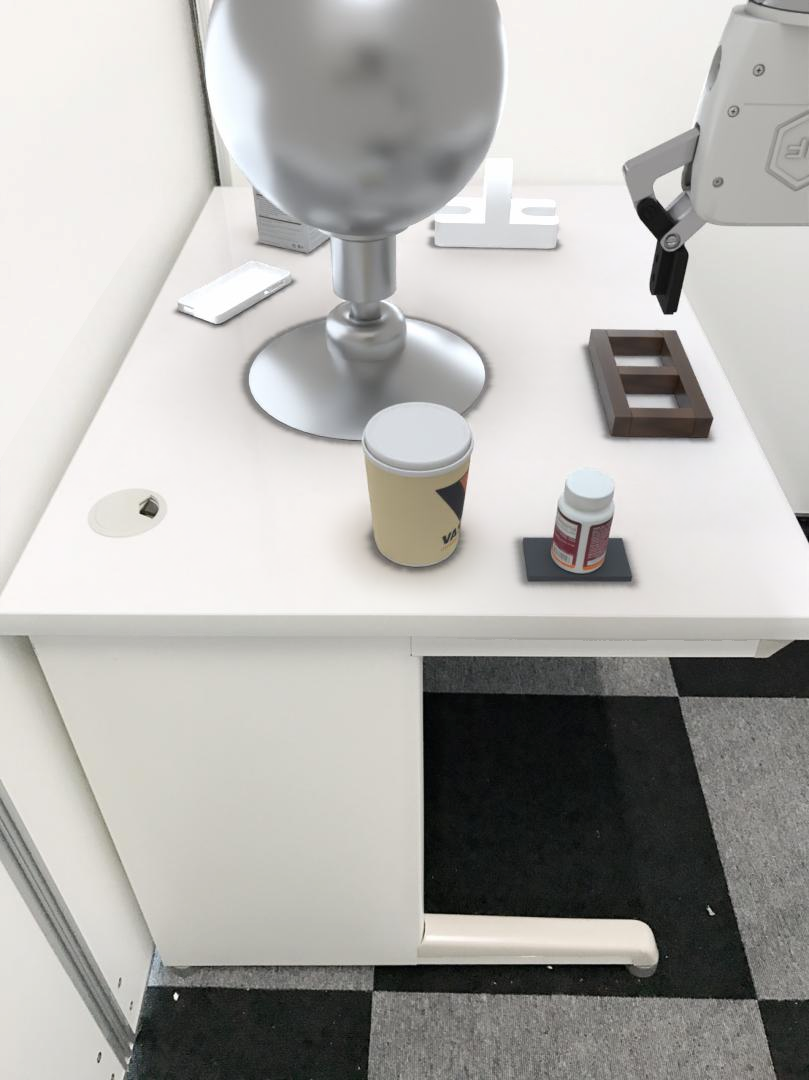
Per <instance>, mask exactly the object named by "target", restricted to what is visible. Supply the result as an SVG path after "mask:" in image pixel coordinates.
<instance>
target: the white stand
mask: <svg viewBox="0 0 809 1080" xmlns="http://www.w3.org/2000/svg"><path fill="white" fill-rule="evenodd" d="M513 165H514V164H513V159H512V158H491V157H489V158H488V157H487V158H485V166H484V181H483V197H454V198H453V199H452V200H451V201H450V202H449V203H447V204H446V205H445V206H444V207H442V208H441V209H440V210H438V211H437V212H435V213H434V214H435V215H434V245H435V246H437V247H440V248H441V247H442V248H443V247H445V248H446V247H447V248H491V249H493V248H494V249H496V248H497V249H537V250H538V249H545V250H546V249H547V250H551V249H555V248H556V247H557V241H558V233H559V226H560V220H559V216H557V215H556V210H557V209H556V208H557V206H556V202H555V201H554V200H552V199H544V198H543V199H542V198H541V199H539V198H533V199H532V198H513V182H514V181H513V179H514V178H513V175H514V172H513V171H514V167H513Z"/></svg>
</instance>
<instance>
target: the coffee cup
mask: <svg viewBox="0 0 809 1080" xmlns="http://www.w3.org/2000/svg"><path fill="white" fill-rule="evenodd" d="M474 446H475V437H474V433H473V430H472V429H471V427H470V425H469V422H468V421H467V420H466V419H465V417H463V416H462V414H458V413H457V412H455V411H454V410H452V409H450V408H447V407H445V406H441V405H438V404H433V403H425V402H409V403H402V404H397V405H393V406H390V407H388V408H385V409H383V410H381V411H380V412H378V413H377V414H376V415H374V416H373V417H372V418H371V419H370V420H369V422H368V424H367V426H366V428H365V429H364V431H363V434H362V440H361V447H362V451H363V454H364V464H365V472H366V480H367V489H368V497H369V506H370V514H371V521H372V529H373V537H374V541H375V545H376V547H377V549H378V551H379V553H380V554H381V555H382V556H383V557H385V558H386V559H388V560H389V561H390V562H393V563H394V564H398V565H401V566H406V567H412V568H422V567H429V566H433V565H436V564H437V565H438V564H440V563H441V562H443V561H445V560H446V559H448V558H449V557H450V556H451V555H452V554H453V553H454V552H455V550H456V548H457V546H458V542H459V539H460V532H461V527H462V521H463V515H464V514H463V513H464V506H465V500H466V493H467V486H468V478H469V472H470V466H471V457H472V453H473V450H474Z"/></svg>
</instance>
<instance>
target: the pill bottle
mask: <svg viewBox="0 0 809 1080" xmlns="http://www.w3.org/2000/svg"><path fill="white" fill-rule="evenodd" d="M615 488H616V485H615V481H614V479H613V478H612V477H611V476H610V475H609V474H608V473H607V472H604V471H602V470H599V469H596V468H587V467H586V468H585V467H584V468H579V469H575V470H573V471H571V472H570V473H568V475H567V476H566V479H565V483H564V489H563V492H562V493H561V494H560V496H559V498H558V500H557V506H556V507H557V508H556V515H555V519H554V528H553V535H552V538H553V541H552V548H551V556H552V558H553V560H554V562H555V563H556V564H557V565H558V566H559V567H561V568H562V569H564V570H567V571H570V572H574V573H589V572H592V571H594V570H596V569H598V568H599V567H600V566H601V565H602V563H603V561H604V558H605V553H606V549H607V544H608V539H609V538H610V533H611V529H612V524H613V519H614V515H615V510H616V509H615V503H614V495H615Z"/></svg>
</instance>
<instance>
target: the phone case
mask: <svg viewBox="0 0 809 1080" xmlns="http://www.w3.org/2000/svg"><path fill="white" fill-rule="evenodd" d="M291 282H292V273H291V272H290V271H289V270H285V269H282V268H279V267H276V266H273V265H270V264H266V263H263V262H260V261H257V260H249V261H248V262H246V263H244V264H241V265H240V266H238V267H236V268H234V269H232V270H230V271H228V272H227V273H225V274H223V275H221V276H219V277H217V278H216V279H214V280H212V281H210V282H208V283H206V284H205V285H202V286H201V287H199V288H197V289H195V290H193V291H192V292H189V293H187V294H186V295H184V296H182V297H180V298H178V299H177V307H178V312H179V311H180V312H182V313H184V314H187V315H190V316H193V317H196V318H198V319H201V320H203V321H207V322H209V323H212V324H215V325H220V324H223V323H225V322H226V321H228V320H229V319H231V318H233V317H235V316H236V315H238V314H240V313H241V312H244V311H245V310H246V309H249V308H251V307H252V306H253V305H255V304H257V303H259V302H260V301H263V300H264V299H266V298H267V297H269V296H271V295H272V294H274V293H276V292H278V291H279V290H281V289H282V288H284V287H286V286H288V285H289V284H291ZM280 283H281V284H280ZM272 288H273V289H272ZM270 289H271V290H270Z"/></svg>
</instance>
